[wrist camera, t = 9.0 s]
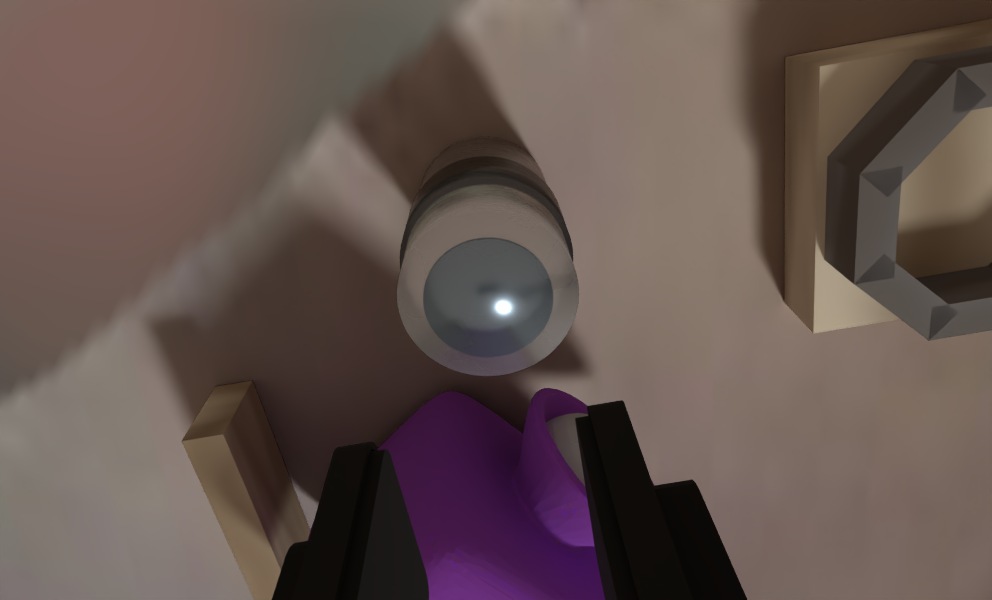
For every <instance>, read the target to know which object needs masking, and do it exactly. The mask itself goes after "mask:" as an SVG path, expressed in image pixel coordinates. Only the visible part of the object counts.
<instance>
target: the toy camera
mask: <svg viewBox="0 0 992 600" xmlns="http://www.w3.org/2000/svg"><path fill="white" fill-rule="evenodd" d="M584 416H588V412H587V405H585V404H584V403H583V402H581V401H580V400H578V399H576V398H575V397H573V396H572V395H570V394H567V393H565V392H562V391H560V390H557V389H551V388H544V389H541V390H539V391H538V392H536V394H535V395H534V397H533V398H532V400H531V403H530V406H529V409H528V413H527V416H526V422H525V427H524V432H523V433H521V432H520V431H519V430H517V429H516V428H515V427H513V426H512V425H510V424H509V423H508V422H506V421H505V420H504V419H502V418H501V417H499V416H498V415H496V414H495V413H494V412H492V411H491V410H489V409H488V408H486V407H485V406H483V405H482V404H480V403H479V402H477V401H476V400H474V399H472V398H470V397H469V396H467V395H464V394H462V393H459V392H455V391H447V392H443V393H441V394H439V395H437V396H435V397H434V398H432V399H431V400H429V401H428V402H427V403H425V404H424V405H423V406H422V407H421V408H420V409H418V410H417V411H416V412H415V413H414V414H413V415H412V416H411V417H410V418H409V419H408V420H407V421H406V422H405V423H404V424H403V425H402V426H400V427H399V428H398V429H397V430H396V431H395V432H394V433H393V434H392V435H391V436H390V437H389V438H388V439H387V440H386V441H385V442H384V443H383V444H382V445H381V446H380V447H379V448H378V449H377V450H383V449H387V450H388V451H389V452H390V455H391V458H392V461H393V465H394V468H395V471H396V475H397V478H398V481H399V484H400V488H401V491H402V494H403V498H404V501H405V504H406V508H407V511H408V514H409V518H410V521H411V524H412V527H413V531H414V534H415V537H416V541H417V544H418V547H419V551H420V554H421V557H422V561H423V564H424V567H425V570H426V574H427V579H428V586H429V600H605V597H604V592H603V587H602V583H601V578H600V573H599V568H598V563H597V557H596V552H595V546H594V539H593V533H592V526H591V520H590V513H589V507H588V500H587V494H586V488H585V481H584V475H583V468H582V462H581V455H580V449H579V442H578V436H577V429H576V423H575V418H578V417H584ZM651 481H652V480H651ZM652 484H653V482H652ZM653 486H654V484H653ZM312 527H313V525H312ZM311 530H312V528H311ZM310 534H311V531H310ZM310 534H309V537H310ZM309 537H308V540H307V541H309Z"/></svg>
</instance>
